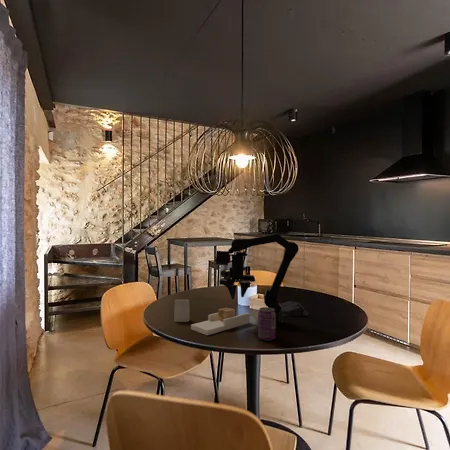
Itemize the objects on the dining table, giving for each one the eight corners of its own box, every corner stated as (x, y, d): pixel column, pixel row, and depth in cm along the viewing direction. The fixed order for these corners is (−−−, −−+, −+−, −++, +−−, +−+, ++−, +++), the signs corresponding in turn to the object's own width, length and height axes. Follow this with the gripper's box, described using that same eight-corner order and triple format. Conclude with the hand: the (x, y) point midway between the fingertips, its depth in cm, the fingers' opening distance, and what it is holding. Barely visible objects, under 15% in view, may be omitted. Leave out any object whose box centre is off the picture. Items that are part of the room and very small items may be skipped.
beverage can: (274, 335, 142) (274, 306, 142) (277, 341, 135) (277, 311, 134) (257, 335, 141) (257, 307, 141) (259, 341, 134) (259, 311, 134)
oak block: (233, 320, 157) (233, 309, 157) (225, 322, 153) (225, 311, 153) (226, 318, 160) (226, 307, 160) (218, 320, 157) (218, 309, 157)
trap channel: (249, 322, 160) (249, 313, 160) (207, 335, 142) (207, 324, 142) (233, 318, 168) (233, 308, 168) (190, 329, 150) (190, 319, 150)
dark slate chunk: (303, 306, 192) (303, 298, 192) (309, 317, 170) (309, 308, 170) (276, 306, 194) (276, 297, 194) (278, 316, 172) (278, 307, 172)
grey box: (188, 321, 161) (188, 300, 161) (174, 321, 161) (174, 300, 161) (189, 319, 165) (189, 298, 165) (175, 319, 165) (175, 298, 165)
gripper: (239, 262, 174) (239, 292, 174) (211, 265, 161) (211, 298, 161) (255, 264, 166) (255, 296, 166) (227, 267, 153) (227, 302, 153)
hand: (237, 298), depth 162 cm, fingers open, 6 cm apart
